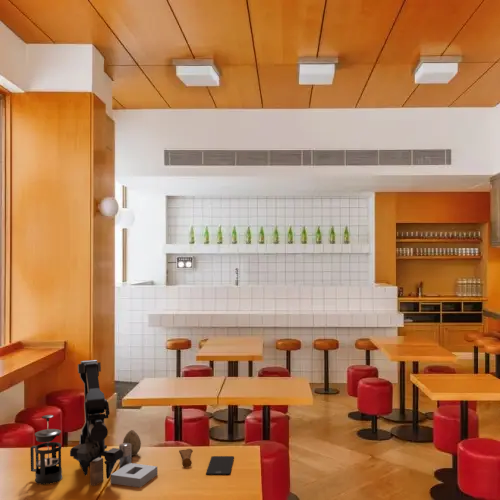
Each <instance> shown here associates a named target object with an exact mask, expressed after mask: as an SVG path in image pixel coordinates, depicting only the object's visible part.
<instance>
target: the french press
mask: <svg viewBox="0 0 500 500" xmlns="http://www.w3.org/2000/svg"><path fill="white" fill-rule="evenodd" d="M54 417H55V416H54V415H53V414H46V415H45V414H44V415H42V416H41V419H46V422H47V424H46V425H47V427H46V428H47V429H42V430H39V431H37V432H34V436H35V440H36V441H37V442H38V443H40V444H37V445H32V446H31V447H30V450H29V451H30V472H31V473H32V472H33V473H35V475H34V476H35V478H34V482H35V483H36V484H37V485H42V484H45V485H51V484H50V483H52V484H56V483H58V482H60V481H61V480H62V479H63V475H62V474H63V472H62V471H63V470H62V443H60V442H56V441H54V440H55V439H56V437H59V436H60V435H61V433H62V430H60V429H56V428H49V421H50V419H53V418H54ZM45 447H47V449H43V450H42V449H41V448H45ZM50 447H51V449H50ZM34 453H35V457H34ZM50 454H51V457H50ZM57 454H58V455H57ZM46 455H47V457H46ZM57 456H58V457H57ZM34 458H35V459H34ZM34 460H35V461H34ZM55 482H56V483H55Z"/></svg>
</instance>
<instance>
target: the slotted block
mask: <svg viewBox="0 0 500 500" xmlns="http://www.w3.org/2000/svg"><path fill="white" fill-rule="evenodd" d="M157 476H158V466H157V465H156V466H155V465H148V464H141V463H128V464H126V465H125V466H123V467H122V468H120V467H119V469H117V470H116V471H114V472H111V475H110V484H113V485H120V486H121V485H122V486H128V487H135V488H142V487H143V486H144V485H146V484H147V483H148V482H149V481H151V480H152V479H154V478H155V477H157Z"/></svg>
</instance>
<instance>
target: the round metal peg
mask: <svg viewBox="0 0 500 500" xmlns="http://www.w3.org/2000/svg"><path fill="white" fill-rule="evenodd" d="M118 447H119V448H118V449H122V451H123V457H122V458H120V459H119V469H120V468H122V467H123V466H125V465H126V464H128V463H132V462H133V461H132V460H133V459H132V456H133V455H131V444H130V443H123V442H122V443H120V444H119V445H118Z"/></svg>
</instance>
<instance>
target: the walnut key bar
mask: <svg viewBox="0 0 500 500" xmlns="http://www.w3.org/2000/svg"><path fill="white" fill-rule="evenodd" d="M89 478H90V479H89V480H90V481H89V482H90V484H89V485H90V486H93V487H94V486H97V485H99V484H100V483H102V482H103V481H104V458H103V457H101V458H99V457H98V458H96V459H95V460H93V461H91V462H90V466H89Z"/></svg>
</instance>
